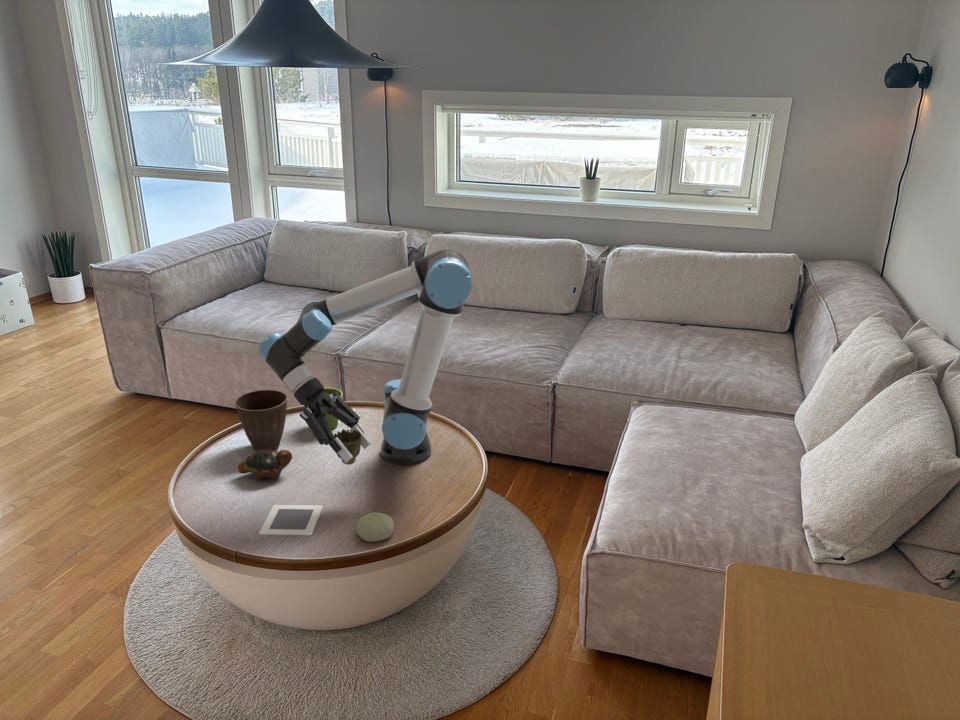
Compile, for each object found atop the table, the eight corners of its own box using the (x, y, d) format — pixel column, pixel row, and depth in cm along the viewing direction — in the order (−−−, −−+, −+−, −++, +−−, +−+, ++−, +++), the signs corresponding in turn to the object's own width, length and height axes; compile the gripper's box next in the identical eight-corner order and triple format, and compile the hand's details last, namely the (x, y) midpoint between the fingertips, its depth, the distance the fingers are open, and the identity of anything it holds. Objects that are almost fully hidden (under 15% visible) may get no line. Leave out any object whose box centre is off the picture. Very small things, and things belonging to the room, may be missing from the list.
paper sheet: (323, 506, 187) (323, 505, 187) (311, 535, 175) (311, 534, 175) (273, 505, 187) (273, 504, 187) (258, 534, 175) (258, 533, 175)
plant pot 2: (308, 420, 236) (305, 388, 232) (344, 417, 238) (342, 386, 234) (306, 436, 225) (303, 403, 221) (344, 433, 227) (342, 401, 223)
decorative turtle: (294, 481, 199) (290, 456, 196) (238, 490, 197) (233, 465, 193) (295, 463, 208) (291, 439, 205) (241, 471, 205) (236, 447, 202)
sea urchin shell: (397, 536, 172) (372, 517, 169) (375, 557, 173) (350, 538, 171) (398, 515, 180) (374, 497, 178) (376, 535, 182) (353, 517, 179)
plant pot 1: (291, 456, 213) (287, 407, 207) (239, 461, 209) (233, 412, 204) (291, 434, 226) (287, 387, 221) (242, 439, 223) (236, 392, 217)
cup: (367, 457, 191) (365, 430, 188) (356, 470, 184) (354, 442, 182) (341, 454, 193) (339, 427, 190) (330, 467, 186) (327, 440, 183)
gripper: (321, 379, 198) (373, 443, 196) (270, 407, 181) (327, 477, 180) (335, 364, 193) (388, 430, 192) (284, 391, 176) (342, 463, 175)
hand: (358, 452), depth 186 cm, fingers closed on cup, 7 cm apart
